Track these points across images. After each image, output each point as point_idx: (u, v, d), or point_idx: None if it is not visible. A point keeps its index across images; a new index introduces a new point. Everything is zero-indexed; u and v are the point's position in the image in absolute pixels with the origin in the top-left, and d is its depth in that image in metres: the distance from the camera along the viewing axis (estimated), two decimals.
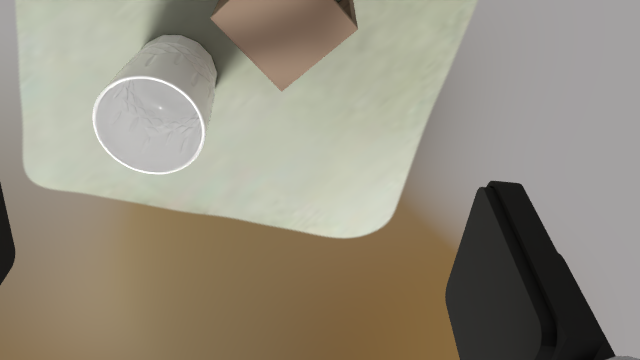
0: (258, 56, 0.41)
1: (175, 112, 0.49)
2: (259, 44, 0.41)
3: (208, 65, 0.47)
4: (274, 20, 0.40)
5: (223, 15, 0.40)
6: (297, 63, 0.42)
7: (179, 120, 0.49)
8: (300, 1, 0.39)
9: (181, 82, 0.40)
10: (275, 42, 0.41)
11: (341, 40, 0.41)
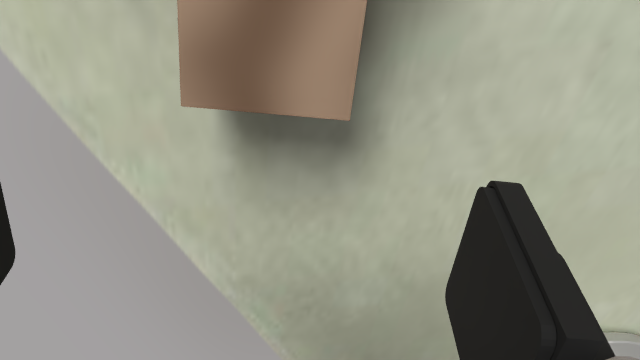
0: None
1: None
2: None
3: None
4: (286, 23, 0.23)
5: None
6: None
7: None
8: (278, 77, 0.24)
9: None
10: None
11: (183, 76, 0.24)
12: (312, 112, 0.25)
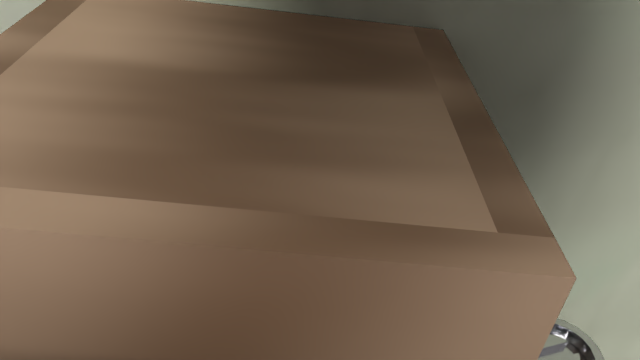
0: (133, 290, 0.06)
1: None
2: (196, 340, 0.06)
3: None
4: None
5: (504, 335, 0.06)
6: None
7: None
8: None
9: None
10: None
11: None
12: None
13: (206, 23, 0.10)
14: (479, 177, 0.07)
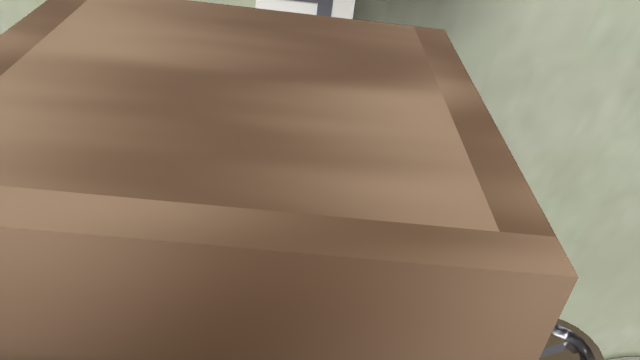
0: (136, 289, 0.06)
1: None
2: (198, 339, 0.06)
3: None
4: None
5: (506, 334, 0.06)
6: None
7: None
8: None
9: None
10: None
11: None
12: None
13: (208, 23, 0.10)
14: (481, 176, 0.07)
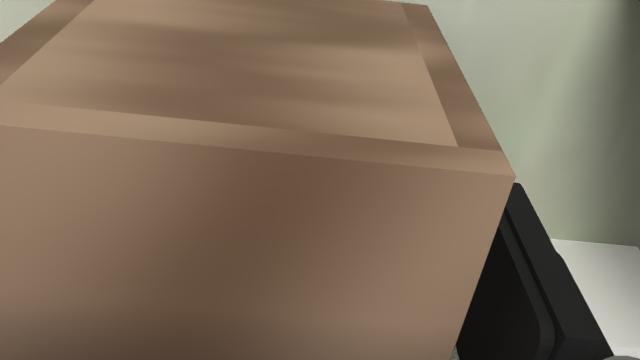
0: (177, 185, 0.07)
1: None
2: (223, 230, 0.08)
3: None
4: (257, 336, 0.09)
5: (462, 226, 0.08)
6: (17, 274, 0.08)
7: None
8: None
9: None
10: (176, 280, 0.08)
11: None
12: None
13: None
14: (447, 111, 0.08)
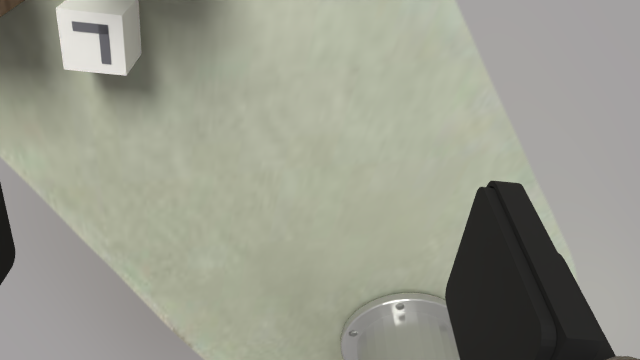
0: None
1: None
2: None
3: None
4: None
5: None
6: None
7: None
8: None
9: None
10: None
11: None
12: None
13: None
14: None
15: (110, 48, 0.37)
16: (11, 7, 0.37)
